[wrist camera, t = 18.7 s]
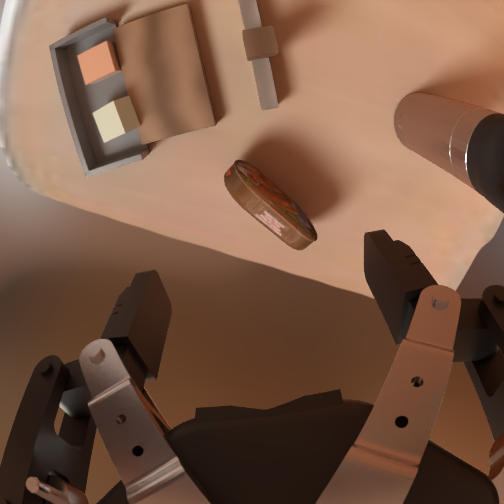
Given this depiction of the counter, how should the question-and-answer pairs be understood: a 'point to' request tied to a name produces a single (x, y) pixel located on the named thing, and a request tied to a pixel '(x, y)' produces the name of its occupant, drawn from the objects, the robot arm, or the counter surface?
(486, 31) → the counter surface
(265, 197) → the tin
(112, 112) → the cream block
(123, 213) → the counter surface
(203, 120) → the walnut board
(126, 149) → the box
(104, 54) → the salmon pink cube
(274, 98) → the cube on grey rod
